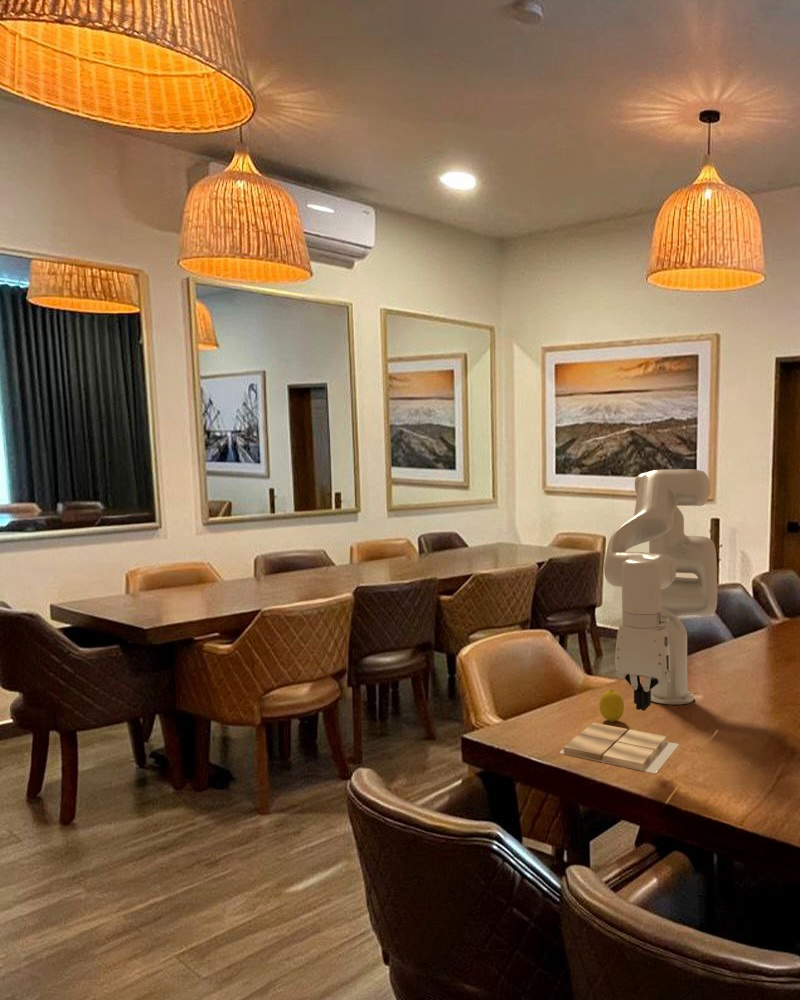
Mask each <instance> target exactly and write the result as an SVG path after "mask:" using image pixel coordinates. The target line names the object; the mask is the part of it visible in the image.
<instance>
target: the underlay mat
mask: <svg viewBox="0 0 800 1000" xmlns="http://www.w3.org/2000/svg"><path fill="white" fill-rule="evenodd" d="M679 746H680V744H679V743H676V742H675V743H674V742H669V741H667V742H666V743H665V744H664V745H663V746H662V748H661V749H660V750H659V751H658V752H657V753H656V755H655V756H654V757H653V758H652V759H651V760H650V762H649V763H648V764H647V765H646V766H645V767H644V769H643V770H642V769H638V768H633V767H628V766H624V765H619V764H614V763H610V762H605V761H603V759H602V760H601V761H600V760H596V759H591V758H587V757H582V756H577V755H573V754H568V753H564V748H562V749H561V750H560V752H559V754H561V755H562V754H563V755H567V756H573V757H578V758H581V759H586V760H591V761H596V762H601V763H604V764H609V765H613V766H618V767H623V768H628V769H632V770H636V771H642V772H644V773H645V772H647V773H650V774H654V775H655V774H657V773H658V772H659V770H660V769H662V767H663V765H664V764H665V763H666V762H667V760H668V759H669V758H670V757H671V755H673V753H674V752H675V750H676V749H677V748H678V747H679Z"/></svg>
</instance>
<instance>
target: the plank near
mask: <svg viewBox="0 0 800 1000" xmlns="http://www.w3.org/2000/svg"><path fill="white" fill-rule="evenodd" d="M654 756H655V750H654V749H649V748H644V747H639V746H634V745H628V744H623V743H618V742H616V743H615V744H614V745H613V746H612V747H611V748H610V749H609V750H608V751H607V752H606V753H605V754H604V755H603V761H605V762H610V763H614V764H619V765H624V766H628V767H633V768H638V769H642V770H643V769H644V767H645V766H646V765H647V764H648V763H649V762H650V760H651V759H652V758H653V757H654Z"/></svg>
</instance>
